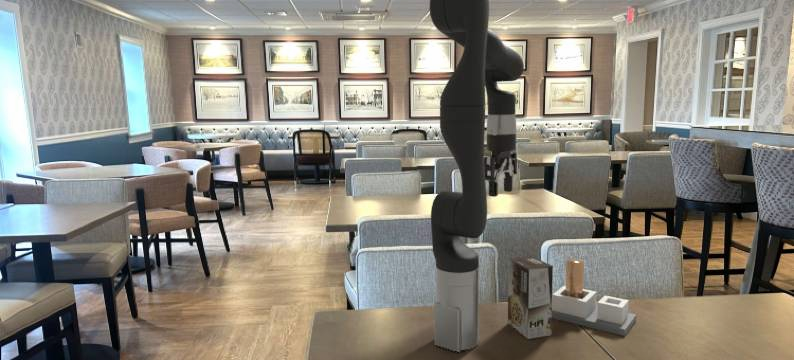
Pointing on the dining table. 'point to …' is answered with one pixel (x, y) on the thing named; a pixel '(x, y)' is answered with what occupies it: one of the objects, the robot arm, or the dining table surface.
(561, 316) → the socket plate
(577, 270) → the copper pipe
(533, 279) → the coffee box
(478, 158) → the robot arm
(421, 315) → the dining table surface
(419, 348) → the dining table surface
